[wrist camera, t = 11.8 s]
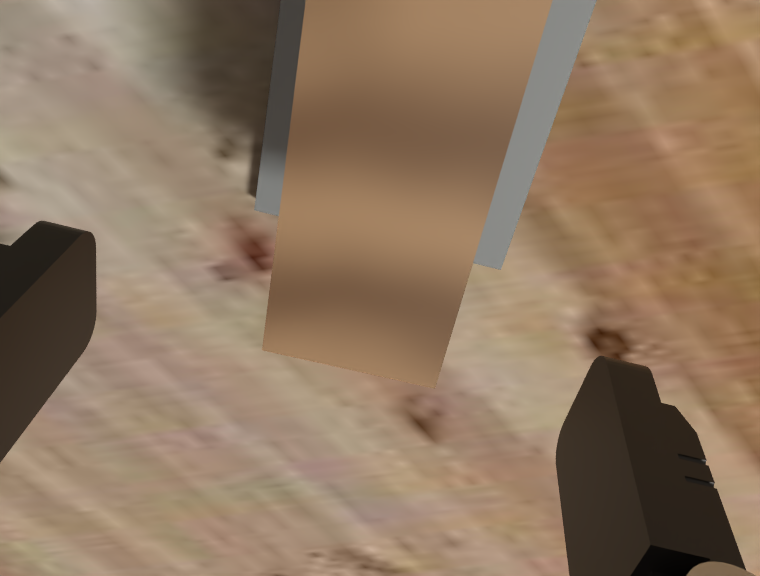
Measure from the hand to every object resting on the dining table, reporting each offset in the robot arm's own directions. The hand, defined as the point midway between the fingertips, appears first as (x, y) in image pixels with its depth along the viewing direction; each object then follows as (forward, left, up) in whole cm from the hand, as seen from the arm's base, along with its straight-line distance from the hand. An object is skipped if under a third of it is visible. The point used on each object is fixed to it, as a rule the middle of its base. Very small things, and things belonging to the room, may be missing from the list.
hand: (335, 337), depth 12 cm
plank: (0, 0, -15) cm, 15 cm away
